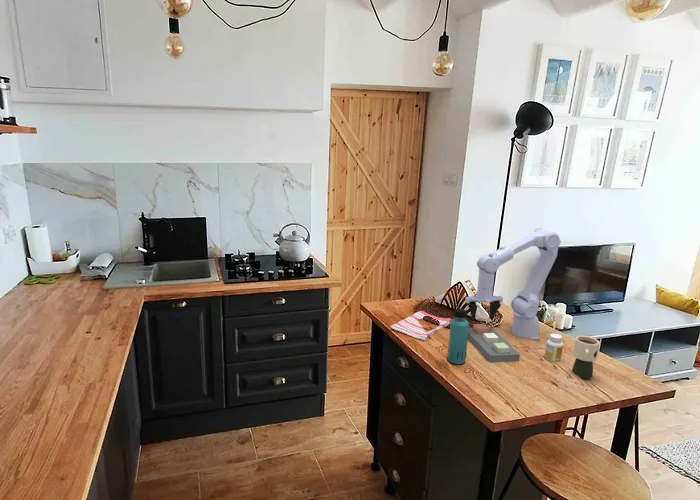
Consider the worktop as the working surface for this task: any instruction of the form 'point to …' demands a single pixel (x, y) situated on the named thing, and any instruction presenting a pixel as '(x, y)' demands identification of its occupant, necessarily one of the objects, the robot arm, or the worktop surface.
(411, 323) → the dish towel
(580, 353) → the character mug
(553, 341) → the supplement bottle
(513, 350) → the button console
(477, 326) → the terracotta button
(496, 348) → the sage button
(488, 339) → the cream button
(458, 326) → the beverage bottle
